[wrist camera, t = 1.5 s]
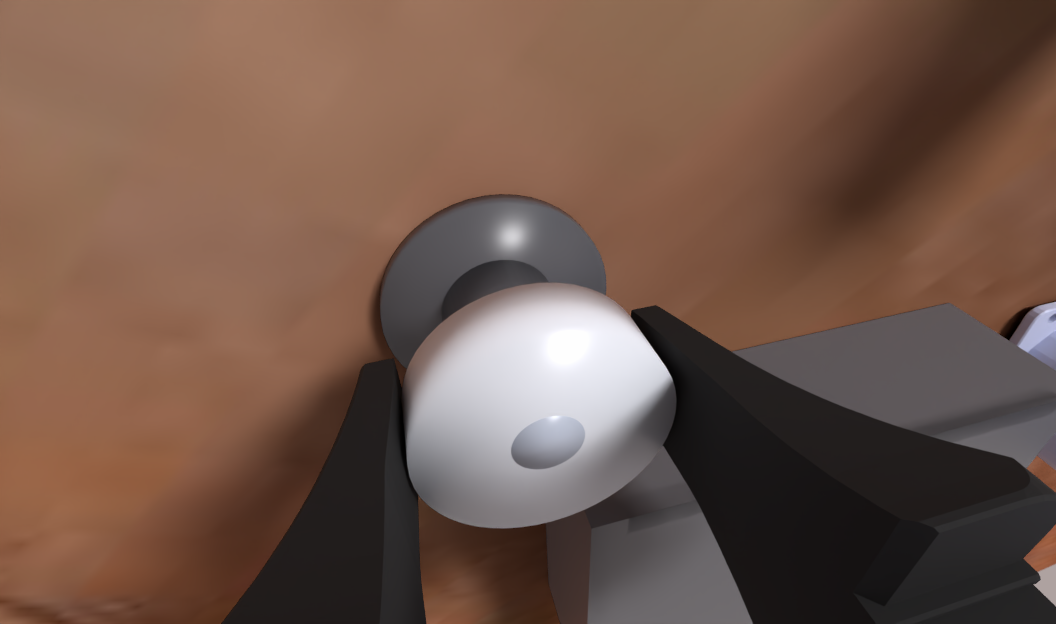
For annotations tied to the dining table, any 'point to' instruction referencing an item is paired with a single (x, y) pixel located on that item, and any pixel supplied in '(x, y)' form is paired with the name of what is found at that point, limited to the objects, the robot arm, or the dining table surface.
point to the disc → (532, 406)
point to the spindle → (479, 262)
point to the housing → (835, 375)
